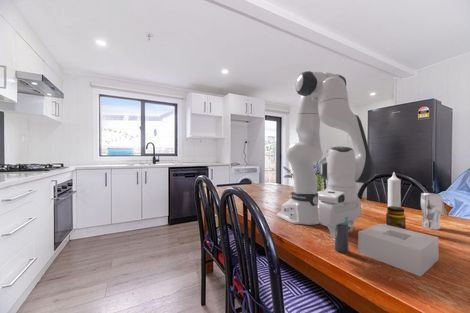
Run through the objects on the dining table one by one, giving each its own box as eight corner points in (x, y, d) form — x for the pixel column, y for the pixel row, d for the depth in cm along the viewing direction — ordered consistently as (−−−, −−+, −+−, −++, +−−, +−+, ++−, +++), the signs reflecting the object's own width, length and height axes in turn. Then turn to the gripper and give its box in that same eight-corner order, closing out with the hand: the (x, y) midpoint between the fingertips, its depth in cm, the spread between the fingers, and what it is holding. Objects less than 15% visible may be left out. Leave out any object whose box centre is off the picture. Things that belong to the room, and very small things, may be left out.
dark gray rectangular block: (332, 249, 70) (332, 215, 70) (338, 246, 73) (338, 213, 73) (344, 254, 67) (344, 218, 67) (350, 251, 69) (350, 216, 69)
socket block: (358, 252, 68) (358, 232, 68) (379, 241, 77) (379, 223, 77) (420, 276, 55) (420, 250, 55) (438, 259, 63) (438, 237, 63)
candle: (408, 231, 87) (408, 172, 87) (389, 230, 89) (389, 172, 88) (398, 225, 94) (398, 171, 94) (381, 224, 95) (381, 171, 95)
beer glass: (420, 227, 91) (420, 194, 91) (420, 223, 96) (420, 192, 96) (442, 231, 86) (442, 196, 86) (441, 227, 92) (441, 194, 91)
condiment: (410, 242, 76) (410, 210, 76) (382, 239, 79) (382, 208, 79) (402, 235, 83) (402, 206, 83) (377, 232, 86) (377, 204, 86)
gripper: (348, 189, 78) (348, 225, 78) (315, 195, 67) (315, 237, 67) (366, 192, 73) (366, 230, 73) (333, 199, 62) (333, 244, 62)
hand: (341, 234), depth 70 cm, fingers open, 8 cm apart
